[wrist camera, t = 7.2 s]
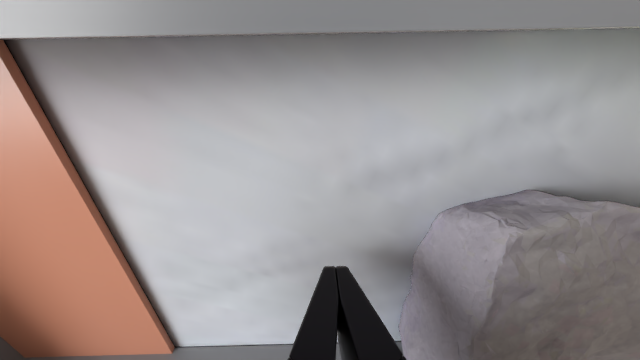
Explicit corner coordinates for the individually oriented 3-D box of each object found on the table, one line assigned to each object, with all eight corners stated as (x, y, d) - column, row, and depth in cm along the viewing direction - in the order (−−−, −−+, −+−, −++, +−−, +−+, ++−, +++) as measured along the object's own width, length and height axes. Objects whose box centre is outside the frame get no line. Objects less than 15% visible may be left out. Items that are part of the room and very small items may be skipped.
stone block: (412, 167, 11) (385, 340, 14) (490, 217, 6) (424, 457, 10) (659, 172, 12) (582, 334, 15) (883, 219, 7) (705, 439, 10)
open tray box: (644, 344, 15) (729, 424, 12) (22, 361, 15) (-55, 447, 11) (1066, -27, 6) (1759, -83, 3) (-402, -2, 6) (-1118, -39, 3)
